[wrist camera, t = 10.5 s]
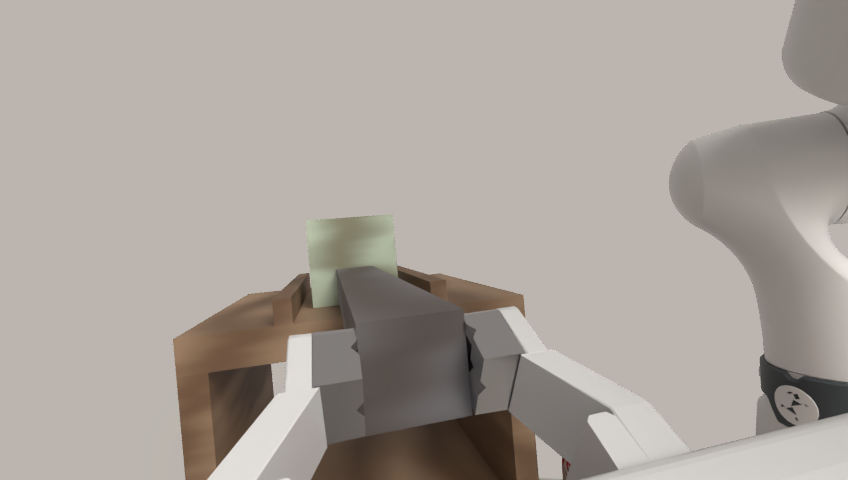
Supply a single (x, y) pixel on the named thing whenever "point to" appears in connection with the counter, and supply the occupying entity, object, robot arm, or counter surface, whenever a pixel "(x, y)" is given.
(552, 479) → the counter surface
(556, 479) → the counter surface
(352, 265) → the block
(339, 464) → the walnut shelf
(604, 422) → the robot arm
